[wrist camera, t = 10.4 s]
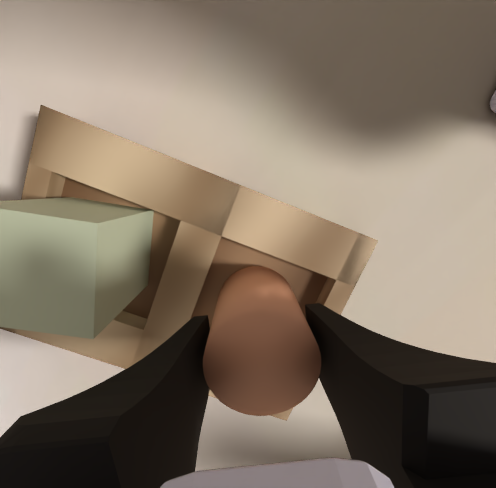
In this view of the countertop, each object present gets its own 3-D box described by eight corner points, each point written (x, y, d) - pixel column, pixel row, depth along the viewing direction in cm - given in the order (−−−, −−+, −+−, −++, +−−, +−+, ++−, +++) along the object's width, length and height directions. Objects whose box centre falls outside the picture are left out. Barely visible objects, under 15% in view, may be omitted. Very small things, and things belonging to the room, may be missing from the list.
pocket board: (358, 232, 14) (378, 240, 12) (281, 390, 16) (286, 420, 14) (74, 118, 13) (40, 104, 11) (30, 307, 15) (-6, 326, 13)
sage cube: (154, 210, 13) (97, 223, 8) (147, 285, 14) (93, 339, 9) (72, 197, 13) (-38, 202, 8) (70, 274, 13) (-29, 323, 9)
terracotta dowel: (290, 262, 13) (317, 304, 8) (296, 333, 14) (324, 409, 9) (213, 270, 13) (194, 317, 8) (223, 340, 14) (211, 421, 9)
